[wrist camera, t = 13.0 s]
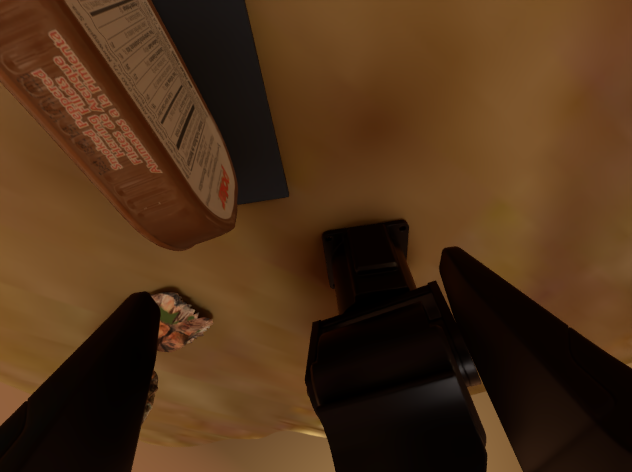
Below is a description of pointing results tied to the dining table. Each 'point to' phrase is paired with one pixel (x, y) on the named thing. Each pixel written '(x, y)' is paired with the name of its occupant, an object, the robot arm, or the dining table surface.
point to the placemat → (230, 88)
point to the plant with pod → (174, 331)
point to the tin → (122, 112)
